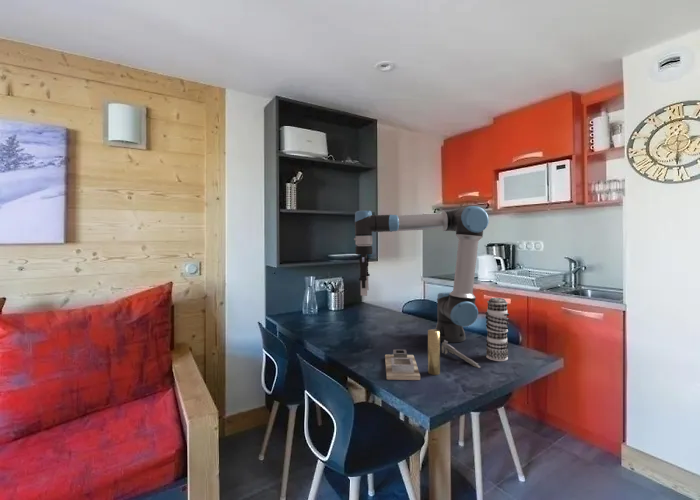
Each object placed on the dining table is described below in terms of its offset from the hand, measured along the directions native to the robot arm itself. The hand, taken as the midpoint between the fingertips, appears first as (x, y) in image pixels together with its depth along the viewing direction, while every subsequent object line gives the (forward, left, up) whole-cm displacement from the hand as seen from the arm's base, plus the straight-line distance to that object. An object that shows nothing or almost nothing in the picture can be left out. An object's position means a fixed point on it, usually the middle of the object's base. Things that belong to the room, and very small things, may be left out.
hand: (364, 292), depth 157 cm
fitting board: (-14, +20, -26) cm, 36 cm away
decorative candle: (-55, +7, -27) cm, 62 cm away
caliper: (-39, +10, -27) cm, 49 cm away
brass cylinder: (-26, +24, -26) cm, 44 cm away
